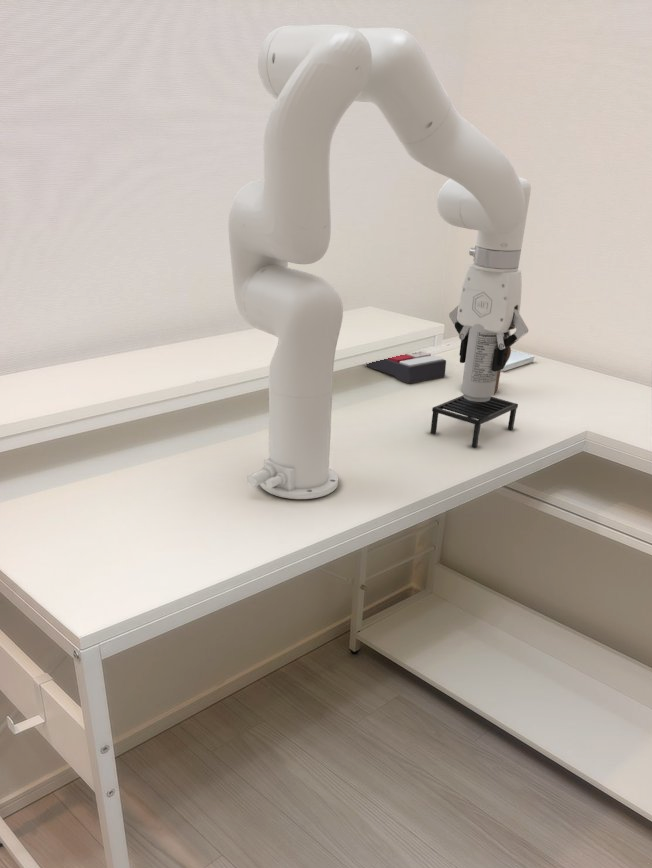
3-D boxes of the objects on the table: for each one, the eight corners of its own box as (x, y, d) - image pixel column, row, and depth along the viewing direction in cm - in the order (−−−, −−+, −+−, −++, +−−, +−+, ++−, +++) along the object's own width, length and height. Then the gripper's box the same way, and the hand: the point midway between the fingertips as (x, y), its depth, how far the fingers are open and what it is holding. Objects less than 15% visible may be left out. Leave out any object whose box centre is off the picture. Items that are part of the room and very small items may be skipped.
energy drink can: (488, 392, 151) (500, 309, 143) (497, 403, 146) (510, 318, 138) (456, 392, 150) (467, 309, 142) (465, 402, 145) (476, 317, 137)
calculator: (402, 343, 187) (447, 356, 177) (401, 362, 190) (445, 376, 179) (366, 349, 182) (410, 363, 171) (365, 368, 184) (408, 383, 174)
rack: (475, 448, 144) (479, 421, 142) (429, 433, 149) (432, 407, 147) (513, 429, 154) (518, 403, 151) (469, 415, 159) (473, 391, 156)
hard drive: (506, 348, 196) (476, 356, 189) (534, 355, 192) (505, 364, 184) (505, 355, 197) (475, 363, 190) (533, 362, 193) (504, 372, 185)
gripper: (441, 253, 137) (430, 359, 147) (531, 270, 128) (513, 381, 138) (465, 249, 142) (452, 351, 152) (553, 264, 133) (533, 372, 143)
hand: (481, 364), depth 145 cm, fingers closed on energy drink can, 6 cm apart
